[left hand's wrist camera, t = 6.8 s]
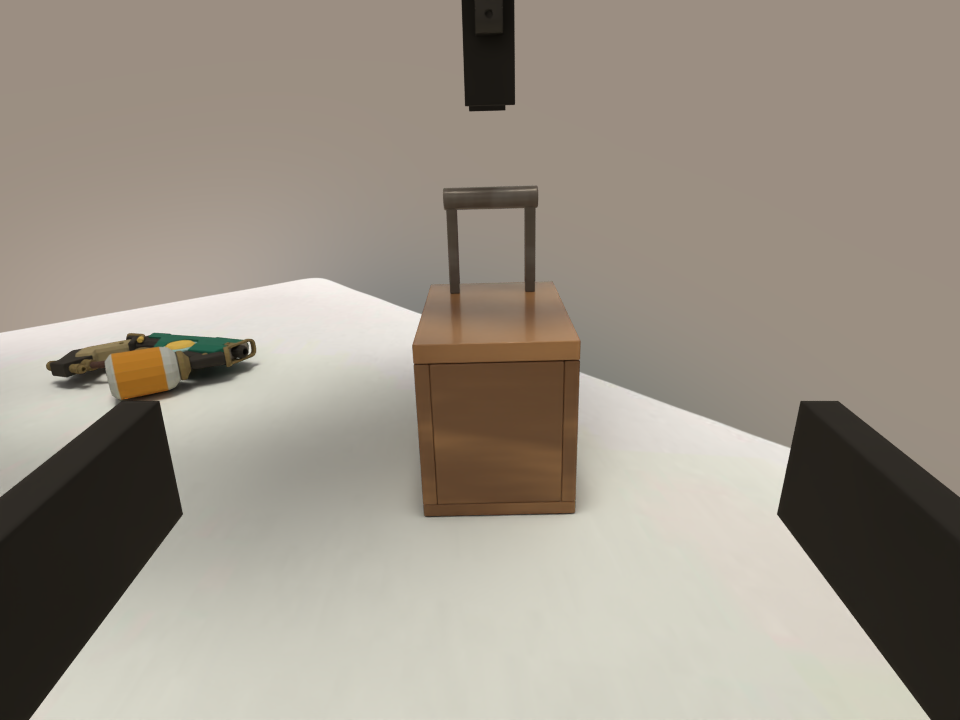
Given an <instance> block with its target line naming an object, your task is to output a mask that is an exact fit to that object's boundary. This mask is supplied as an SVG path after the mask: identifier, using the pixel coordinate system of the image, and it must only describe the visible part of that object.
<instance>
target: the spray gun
mask: <svg viewBox="0 0 960 720" xmlns="http://www.w3.org/2000/svg"><path fill="white" fill-rule="evenodd" d="M247 342H250V344H251V354H249V355H248V349H249V345H248V343H247ZM255 353H256V345H255V342H254V340H253V339H245V340H239V339H229V338H220V337H216V338H212V337H197V336H183V335H171V334H165V333H152V334H151V335H149V336H145V335H144V334H135V333H129V334H127V337H126V340H124V341H118V342H113V343H107V344H102V345H97V346H91V347H87V348H83V349H78V350H73V351H71V352H69V353H68V354H67V355H65V356H64V357H62V358H61V359H60V360H57V361H49V362H48V363H47V365H46V368H47V369H48V370H49V371H52V375H53V376H61V377H69V376H72V375H76V374H83V373H85V372H86V371H94V370H96V369H98V368H106V373H107V378H108V383H109V387H110V390H111V394H112V396H114V397H116V398H117V399H119V400H124V399H129V398H133V397H138V396H143V395H148V394H153V393H158V392H163V391H167V390H170V389H172V388H175V387H176V386H177V385H178V383H179V382H180V381H181V379H182V380H187V379H188V376H189V373H190V372H191V368H192V369H198V368H205V367H213V366H220V365H225V364H226V366H227V367H230V366H232V365H233V364H235V363H238V362H240V361H243V360H245V359H248V358H250V357H253V356H254V355H255ZM238 358H239V359H238Z"/></svg>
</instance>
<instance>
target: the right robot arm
mask: <svg viewBox="0 0 960 720" xmlns="http://www.w3.org/2000/svg"><path fill="white" fill-rule="evenodd" d="M462 25H463V56H464V86H465V106H469V111H498V110H505V105H515V47H514V46H515V45H514V0H462Z"/></svg>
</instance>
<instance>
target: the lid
mask: <svg viewBox="0 0 960 720" xmlns="http://www.w3.org/2000/svg"><path fill="white" fill-rule="evenodd" d="M443 203H444V210H446V213H447V235H448V257H449V279H450V284H440V285H431V287H430V290H429V293H428V296H427V300H426V303H425V306H424V309H423V313H422V316H421V319H420V322H419V326H418V329H417V332H416V335H415V338H414V342H413V345H412V349H413V363H414V364H427V363H467V362H506V361H546V360H579V359H580V339H579V337H578V335H577V333H576V331H575V328H574V326H573V324H572V322H571V320H570V318H569V316H568V313H567V311H566V309H565V307H564V305H563V303H562V301H561V298H560V296H559V294H558V292H557V290H556V288H555V286H554V283H553V282H535V208H536V207H537V206H538V187H537V186H503V187H467V188H444V189H443ZM504 208H525V282H514V283H476V284H460V276H459V252H458V226H457V210H468V209H504Z"/></svg>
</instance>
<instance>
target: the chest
mask: <svg viewBox="0 0 960 720" xmlns="http://www.w3.org/2000/svg"><path fill="white" fill-rule="evenodd" d="M579 372H580V361H579V360H546V361H506V362H467V363H427V364H414V377H415V392H416V406H417V420H418V435H419V449H420V463H421V478H422V492H423V504H424V515H425V516H458V515H501V514H545V513H574V512H575V497H576V465H577V434H578V403H579Z"/></svg>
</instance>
